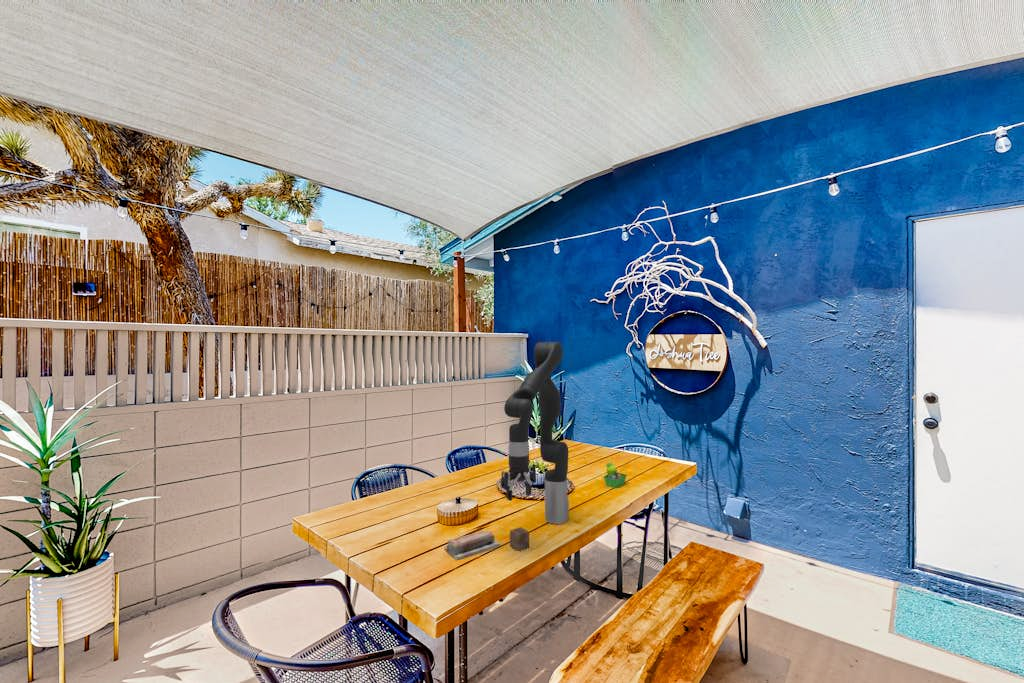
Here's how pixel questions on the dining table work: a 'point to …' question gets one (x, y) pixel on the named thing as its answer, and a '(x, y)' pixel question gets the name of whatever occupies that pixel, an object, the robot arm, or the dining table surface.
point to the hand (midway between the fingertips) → (518, 497)
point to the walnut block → (519, 539)
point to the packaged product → (471, 544)
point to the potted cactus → (614, 476)
